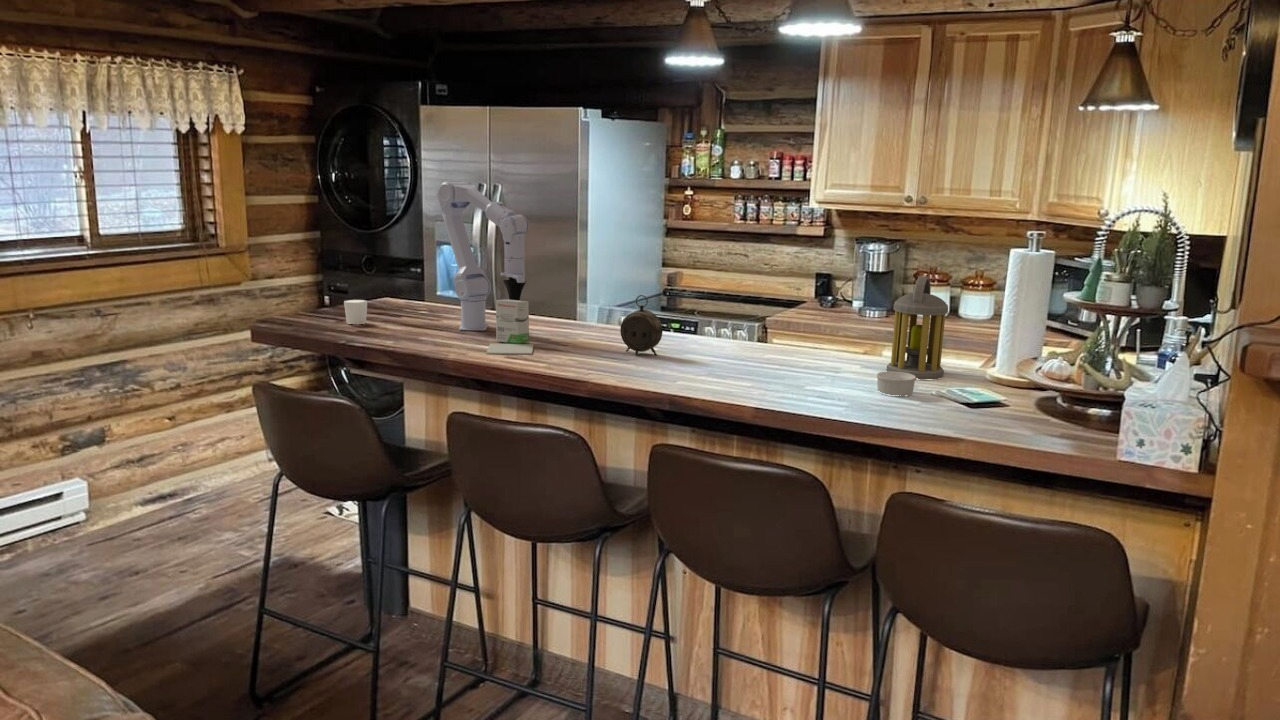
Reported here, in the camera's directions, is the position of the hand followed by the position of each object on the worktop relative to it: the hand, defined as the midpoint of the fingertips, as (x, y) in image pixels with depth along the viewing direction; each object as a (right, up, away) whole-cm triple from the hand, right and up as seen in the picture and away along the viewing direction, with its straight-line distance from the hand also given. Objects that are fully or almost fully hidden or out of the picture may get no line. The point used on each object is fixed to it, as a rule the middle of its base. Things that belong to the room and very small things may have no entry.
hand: (514, 304), depth 276 cm
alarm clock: (+36, -15, -18) cm, 43 cm away
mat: (+1, -13, -17) cm, 21 cm away
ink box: (0, -11, -7) cm, 13 cm away
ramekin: (+96, -24, -53) cm, 112 cm away
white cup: (-50, -5, +15) cm, 53 cm away
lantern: (+107, -20, -33) cm, 113 cm away
